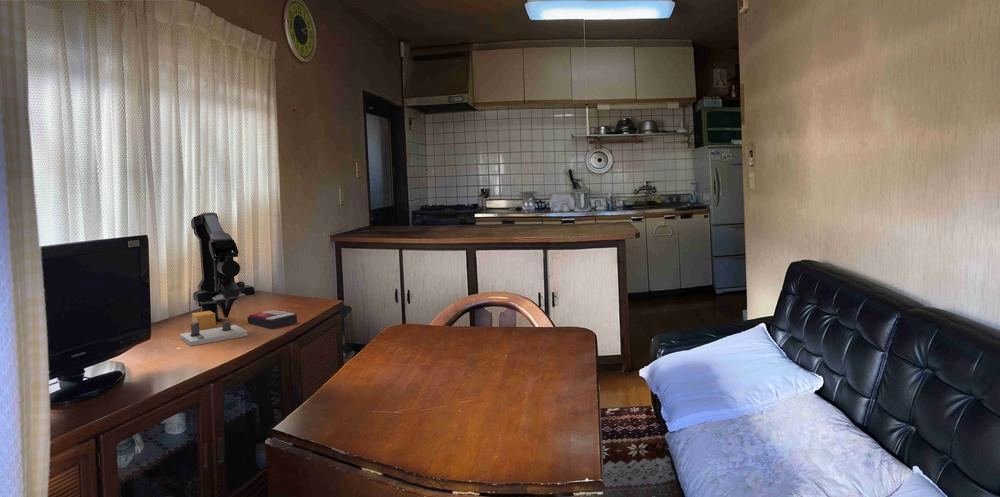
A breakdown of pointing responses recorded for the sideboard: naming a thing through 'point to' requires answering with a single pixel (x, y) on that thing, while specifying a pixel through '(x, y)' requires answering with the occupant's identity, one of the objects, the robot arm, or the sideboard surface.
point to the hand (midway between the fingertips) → (226, 317)
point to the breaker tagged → (226, 326)
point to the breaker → (195, 329)
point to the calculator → (272, 319)
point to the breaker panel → (213, 335)
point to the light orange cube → (204, 320)
